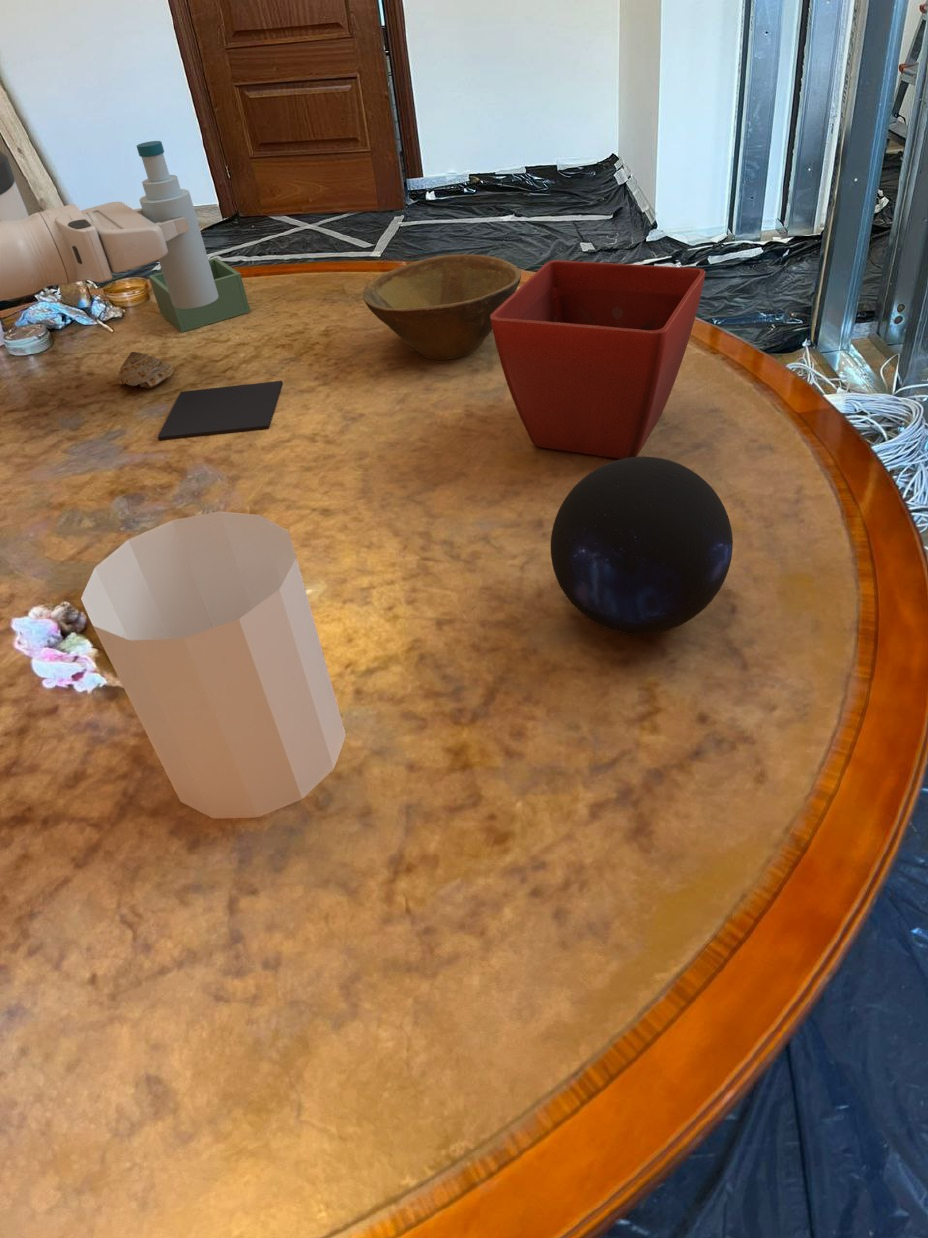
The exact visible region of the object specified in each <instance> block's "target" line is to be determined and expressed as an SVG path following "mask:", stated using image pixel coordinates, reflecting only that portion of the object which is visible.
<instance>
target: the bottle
mask: <svg viewBox="0 0 928 1238" xmlns="http://www.w3.org/2000/svg"><path fill="white" fill-rule="evenodd" d="M136 150H137V153H138V156H139V157H140V158H141V160H142V163H143V166H144V170H145V173H146V177H147V178H146V179H144V180H143V181H142V182H141V184H142V187H143V191H144V193H145V195H143V196H142V197H140V198H139V204H140V208H142V210H143V213H144V216H145V218H147V219H149V220H150V221H152V222H153V223H158V222H160V223H162V222H166V221H169V220H170V219H171V218H175V217H179V216H181V217H183V218H185V219H186V220H187V222H188V225H189V231H188V232H186V233H183V234H179V235H177V236H175V237H174V238H172V239H170V240H169V241H165V242H166V246H167V249H168V253H167V255H165V256H164V257H163V258H161V259H159V260H158V263H159V266H160V269H161V272H162V273H163V276H164V279H165V282H166V286H167V289H168V292H169V295H170V298H171V301H172V305H173V306H174V307H175V308H179V309H190V308H197V307H201V306H205V305H208V304H210V303H212V302H214V301H215V300H217V299H218V292H217V289H216V285H215V282H214V278H213V274H212V271H211V267H210V264H209V260H210V259H209V257H208V254H207V251H206V245H205V243H204V239H203V236H202V232H201V228H200V225H199V221H198V217H197V214H196V210H195V208H194V204H193V200H192V197H191V196H192V195H191V193H190V190H188V189H186V188H181V186H180V185H181V184H180V181H179V178H178V176H177V175H175V174H170V172H169V168H168V165H167V162H166V158H165V155H164V154H165V148H164V146H163V142H162V141H161V140H152V141H146V142H142V143H139V144H137V145H136Z"/></svg>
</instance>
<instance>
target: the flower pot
mask: <svg viewBox="0 0 928 1238" xmlns="http://www.w3.org/2000/svg"><path fill="white" fill-rule="evenodd" d="M705 278H706V271H705V269H704V268H699V267H682V266H666V265H664V266H663V265H648V264H630V263H613V262H595V261H580V260H579V261H577V260H573V261H572V260H560V259H559V260H557V259H555V260H550V261H547V262H545V263H544V264H543V265H542V266H541V267H540V268H539V269H538V270H537V271H536V272H535V273H534V274H533V275H532V276H530V278H529V279H527V280H526V281H525V282H524V283H523V284H522V285H521V286H520V287H519V288H517V289H516V292H515V293H514V294H513V295H511V296H510V297H509V298H508V299H507V300H506V301H505V302H504V303H503V304H502V305H501V306H499V307H498V308H497V309H496V310H495V311H494V312H493V313H492V314H491V315H490V319H491V325H492V330H491V331H492V335H493V338H494V342H495V346H496V350H497V355H498V358H499V362H500V365H501V369H502V372H503V375H504V378H505V382H506V384H507V387H508V390H509V393H510V396H511V399H512V401H513V403H514V406H515V409H516V411H517V413H518V415H519V418H520V419H521V422H522V424H523V426H524V428H525V431H526V433H527V435H528V437H529V439H530V441H531V443H532V444H533V445H534V446H535V447H538V448H545V449H549V450H557V451H564V452H571V453H578V454H585V455H592V456H597V457H603V458H611V459H617V460H620V459H624V458H630V457H638V455H639V454H640V452H641V450H642V449H643V447H644V445H645V444H646V442H647V440H648V438H649V437H650V435H651V433H652V432H653V430H654V428H655V427H656V425H657V423H658V422H659V420H660V418H661V416H662V415H663V413H664V410H665V408H666V406H667V403H668V401H669V399H670V396H671V393H672V390H673V388H674V385H675V383H676V379H677V377H678V374H679V371H680V368H681V366H682V363H683V359H684V356H685V354H686V351H687V348H688V344H689V341H690V337H691V335H692V331H693V327H694V323H695V319H696V316H697V312H698V309H699V304H700V301H701V296H702V292H703V288H704V282H705Z"/></svg>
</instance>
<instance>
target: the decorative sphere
mask: <svg viewBox="0 0 928 1238" xmlns="http://www.w3.org/2000/svg"><path fill="white" fill-rule="evenodd" d="M733 539H734V538H733V530H732V526H731V521H730V518H729V515H728V513H727V510H726V508H725V506H724V504H723V502H722V500H721V498H720V496H719V495H718V494H717V492H716V491H715V489H714V488H712V486H711V485H710V484H709V483H708V482H707V481H706V480H705V479H704V478H703V477H702V476H700V475H699V474H698V473H697V472H695V471H693V470H692V469H690V468H688V467H687V466H684V465H683V464H680V463H678V462H675V461H673V460H669V459H665V458H662V457H655V456H637V457H630V458H624V459H617V460H614V461H611V462H608V463H606V464H603V465H601V466H599V467H597V468H596V469H594V470H592V471H591V472H589V473H588V474H586V475H585V476H584V477H583V478H582V479H580V480H579V481H578V482H577V483H576V484H575V485H574V486H573V487H572V489H571V490H570V491H569V493H568V494H567V495H566V496H565V498H564V499H563V501H562V503H561V505H560V506H559V508H558V511H557V512H556V516H555V519H554V522H553V525H552V529H551V537H550V558H551V565H552V569H553V572H554V575H555V577H556V581H557V583H558V585H559V587H560V589H561V590H562V592H563V593H564V595H565V597H566V598H567V600H568V601H569V602H570V604H571V605H572V606H573V607H574V608H575V609H576V610H577V611H578V612H580V614H582V615H583V616H584V617H586V618H587V619H589V620H590V621H592V622H593V623H595V624H597V625H599V626H601V627H604V628H606V629H608V630H611V631H614V632H618V633H623V634H629V635H630V634H631V635H649V634H650V635H651V634H656V633H663V632H665V631H669V630H671V629H674V628H677V627H680V626H682V625H684V624H685V623H688V622H689V621H690V620H692V619H693V618H695V617H696V616H697V615H699V614H700V613H702V611H704V610H705V609H706V608H707V606H709V605H710V603H711V602H712V601H713V600H714V598H715V597H716V596H717V595H718V593H719V592H720V590H721V588H722V586H723V584H724V583H725V580H726V578H727V576H728V573H729V570H730V566H731V562H732V556H733V548H734V547H733V545H734V540H733Z"/></svg>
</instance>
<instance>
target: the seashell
mask: <svg viewBox="0 0 928 1238" xmlns="http://www.w3.org/2000/svg"><path fill="white" fill-rule="evenodd" d="M174 371H175V369H174V367H173V366H172V365H171V364H170V363H168V362H167V361H164V360H161V359H158V358H157V357H154V356H151V355H149V354H146V353H142V352H136V351H131V352H130V354H129V355H128V356H127V358H126V359H125V360H124V361H123V363H122V364H121V366H120V368H119V371H118V374H117V384H118V385H125V384H126V385H128V386H130V387H135V386H137V385H139V386H140V388H145V389H146V388H147V389H152V388H154V387H156V386H157V385H159V384H160V383H162V382H163V381H165V380H166V379H168V378H169V377H170V376H171V375H173V374H174Z"/></svg>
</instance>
